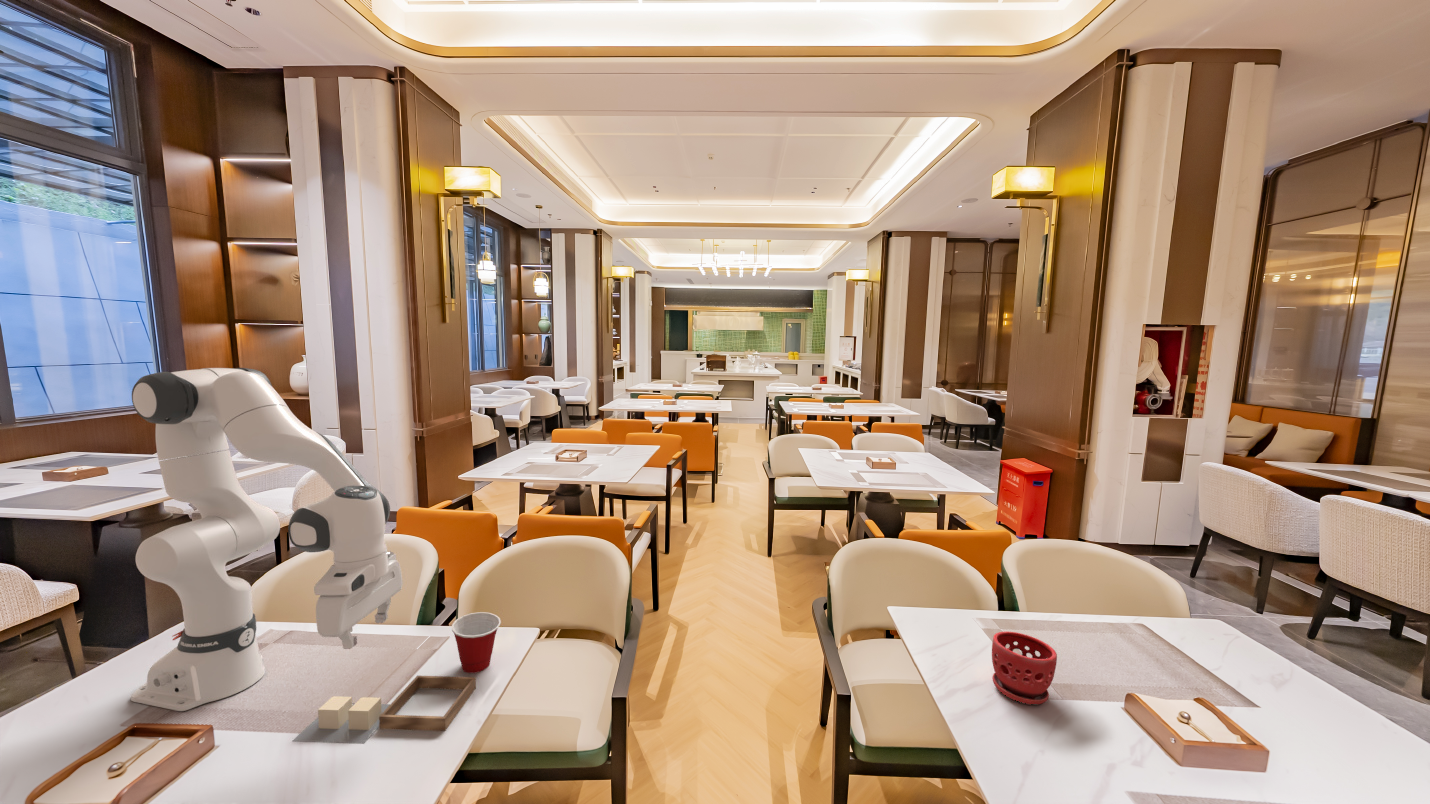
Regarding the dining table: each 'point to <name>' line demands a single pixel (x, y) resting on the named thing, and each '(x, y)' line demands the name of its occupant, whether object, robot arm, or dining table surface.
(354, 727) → the beige block
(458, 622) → the plastic cup
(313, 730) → the slate board
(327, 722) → the cream wooden cube
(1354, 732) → the dining table surface
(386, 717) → the walnut bin
